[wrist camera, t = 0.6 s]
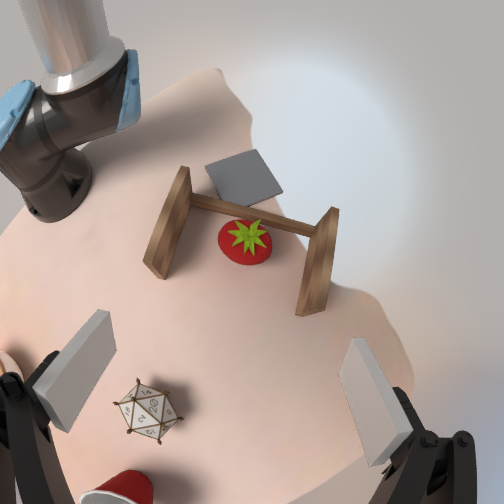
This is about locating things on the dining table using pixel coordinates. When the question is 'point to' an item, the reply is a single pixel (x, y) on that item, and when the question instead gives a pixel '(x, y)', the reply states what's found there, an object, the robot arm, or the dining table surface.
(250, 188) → the pad
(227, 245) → the strawberry
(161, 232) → the wooden crossbar stand
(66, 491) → the robot arm
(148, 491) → the plastic cup
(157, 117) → the dining table surface
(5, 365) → the lidded jar
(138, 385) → the game die
